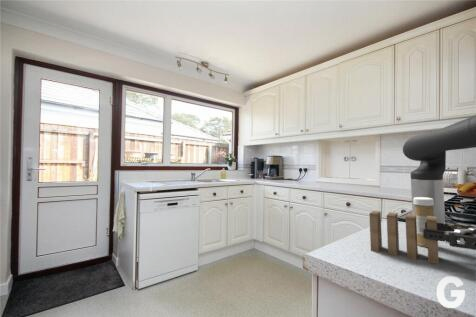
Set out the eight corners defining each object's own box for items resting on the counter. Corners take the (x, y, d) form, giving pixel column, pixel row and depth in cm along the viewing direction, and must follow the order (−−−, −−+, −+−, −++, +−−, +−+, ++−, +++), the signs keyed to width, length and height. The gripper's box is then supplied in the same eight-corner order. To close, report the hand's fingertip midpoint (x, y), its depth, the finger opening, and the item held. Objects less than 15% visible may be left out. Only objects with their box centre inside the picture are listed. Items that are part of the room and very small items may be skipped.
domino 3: (429, 255, 59) (427, 215, 59) (438, 257, 57) (436, 216, 58) (428, 261, 55) (426, 219, 55) (438, 263, 54) (436, 220, 54)
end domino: (374, 245, 67) (373, 210, 67) (382, 246, 65) (380, 211, 66) (370, 250, 63) (369, 213, 63) (378, 252, 62) (376, 214, 62)
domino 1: (391, 248, 64) (389, 212, 64) (399, 249, 63) (397, 212, 63) (388, 253, 60) (386, 215, 60) (396, 255, 59) (394, 216, 59)
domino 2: (409, 251, 61) (407, 213, 62) (417, 253, 60) (416, 214, 60) (407, 257, 58) (405, 217, 58) (416, 259, 56) (414, 218, 57)
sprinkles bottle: (438, 245, 65) (436, 197, 66) (432, 249, 63) (430, 199, 63) (419, 241, 69) (416, 196, 69) (412, 244, 66) (410, 197, 67)
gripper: (517, 217, 52) (425, 209, 63) (537, 232, 41) (421, 219, 52) (519, 251, 52) (426, 237, 63) (539, 274, 41) (423, 253, 52)
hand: (424, 229), depth 57 cm, fingers open, 8 cm apart
